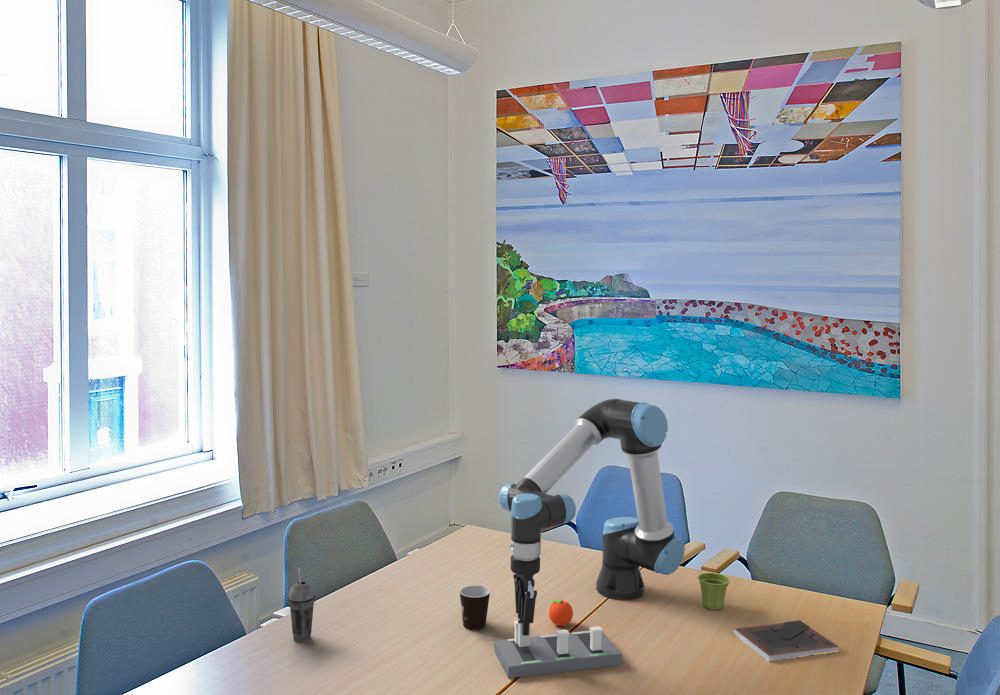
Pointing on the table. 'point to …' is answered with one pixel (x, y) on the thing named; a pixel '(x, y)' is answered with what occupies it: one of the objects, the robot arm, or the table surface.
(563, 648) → the switch middle
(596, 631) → the switch
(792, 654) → the brown book
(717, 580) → the plant pot
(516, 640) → the switch
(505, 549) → the table surface
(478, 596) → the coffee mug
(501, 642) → the switch panel
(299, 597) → the beverage cup
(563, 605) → the clementine
